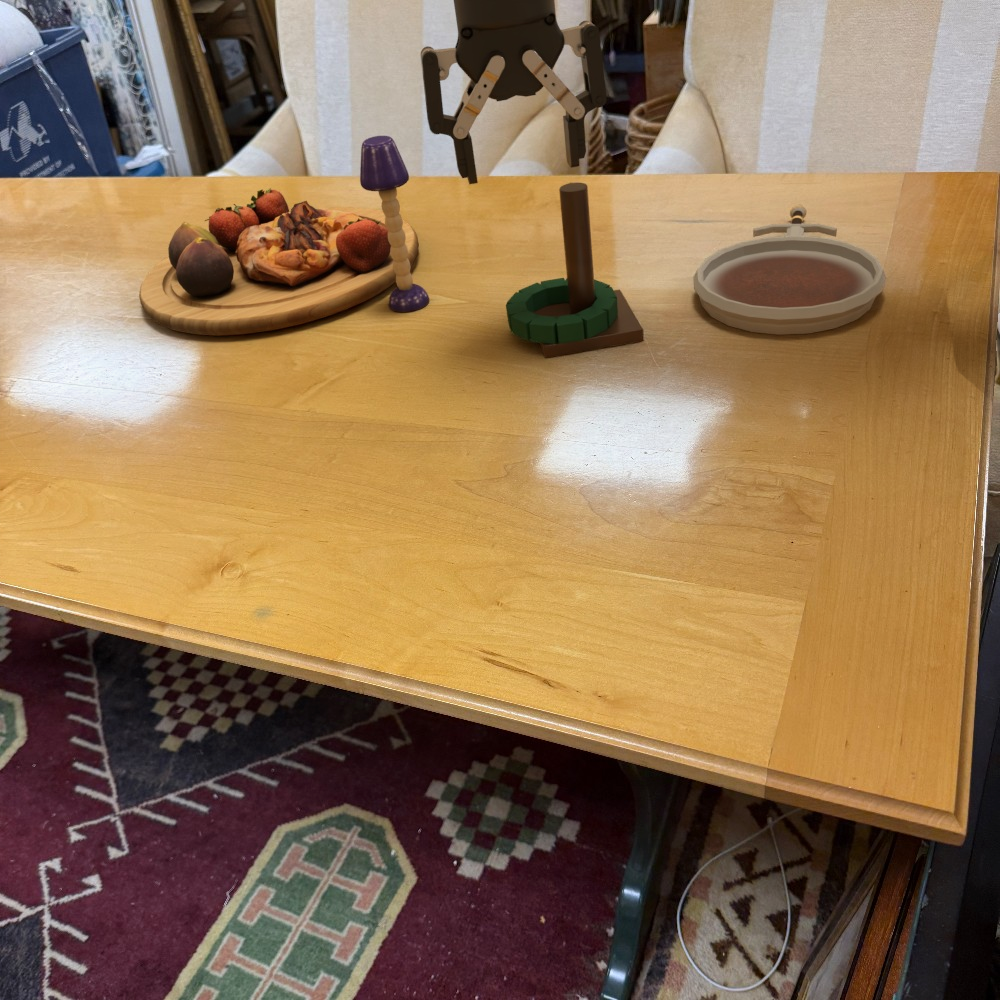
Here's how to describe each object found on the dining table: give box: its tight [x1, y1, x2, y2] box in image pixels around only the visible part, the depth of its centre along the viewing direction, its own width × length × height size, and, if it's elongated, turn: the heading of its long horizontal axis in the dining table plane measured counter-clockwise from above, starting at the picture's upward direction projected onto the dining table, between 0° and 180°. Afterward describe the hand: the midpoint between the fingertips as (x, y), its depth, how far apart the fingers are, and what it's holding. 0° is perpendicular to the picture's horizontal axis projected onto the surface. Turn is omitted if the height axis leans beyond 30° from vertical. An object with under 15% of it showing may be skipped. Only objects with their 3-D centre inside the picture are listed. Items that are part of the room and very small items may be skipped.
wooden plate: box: [138, 187, 420, 336], centre depth 103 cm, size 32×32×8 cm
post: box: [533, 182, 645, 359], centre depth 81 cm, size 9×9×13 cm
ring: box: [505, 277, 618, 344], centre depth 84 cm, size 10×10×2 cm
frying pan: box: [692, 204, 887, 336], centre depth 88 cm, size 17×3×28 cm
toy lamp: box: [359, 135, 430, 313], centre depth 89 cm, size 5×5×17 cm
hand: (523, 173), depth 76 cm, fingers open, 8 cm apart
